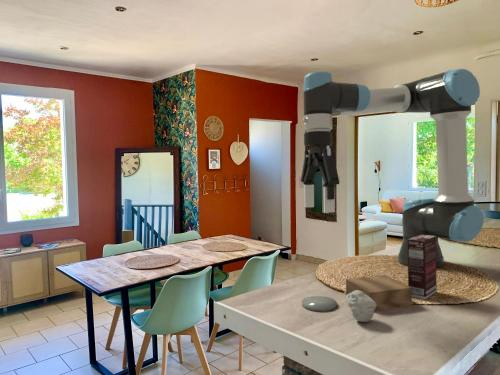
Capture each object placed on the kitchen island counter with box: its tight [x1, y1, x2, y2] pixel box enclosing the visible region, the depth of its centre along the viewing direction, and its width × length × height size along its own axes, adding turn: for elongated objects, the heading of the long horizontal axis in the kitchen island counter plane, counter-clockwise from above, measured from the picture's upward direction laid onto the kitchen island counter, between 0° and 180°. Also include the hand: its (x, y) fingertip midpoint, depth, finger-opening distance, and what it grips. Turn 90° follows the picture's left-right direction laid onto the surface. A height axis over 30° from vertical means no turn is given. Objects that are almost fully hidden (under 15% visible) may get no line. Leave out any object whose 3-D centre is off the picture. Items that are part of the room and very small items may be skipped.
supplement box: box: [407, 235, 438, 300], centre depth 105 cm, size 9×5×16 cm, turn 135°
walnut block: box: [345, 274, 413, 312], centre depth 101 cm, size 12×12×5 cm
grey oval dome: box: [301, 295, 338, 313], centre depth 99 cm, size 9×9×1 cm
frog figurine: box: [345, 290, 376, 323], centre depth 88 cm, size 6×7×7 cm
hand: (318, 209), depth 104 cm, fingers open, 13 cm apart
